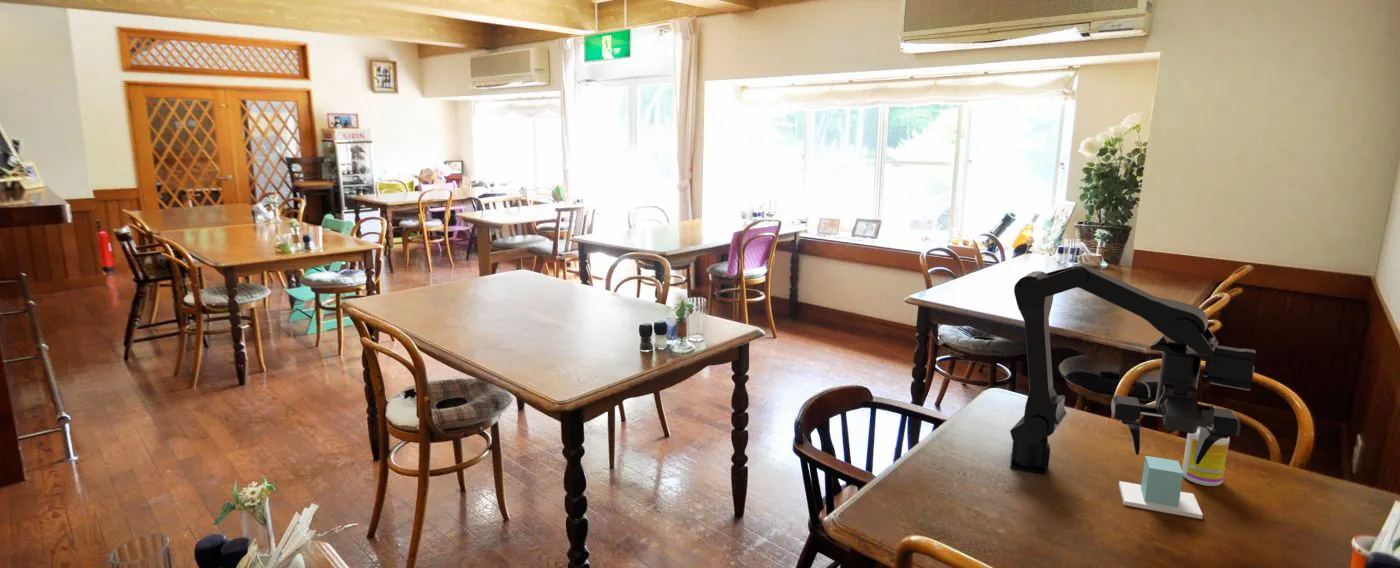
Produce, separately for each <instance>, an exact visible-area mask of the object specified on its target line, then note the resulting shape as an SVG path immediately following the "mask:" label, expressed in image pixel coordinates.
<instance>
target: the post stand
mask: <svg viewBox="0 0 1400 568" xmlns="http://www.w3.org/2000/svg"><path fill="white" fill-rule="evenodd" d="M1118 488H1119V492H1120V495H1121V501H1122V503H1123V505H1124V506H1128V507H1133V508H1139V509H1144V510H1150V511H1156V512H1161V513H1165V514H1172V515H1178V516H1183V517H1188V518H1193V519H1199V520H1203V517H1204V516H1203V512H1202V510H1201V508H1200V506H1199V503H1198V501H1197V498H1196V496H1195V494H1194V493H1191V492H1184V491H1181V493H1180V499H1179V505H1178V507H1174V506H1168V505H1163V504H1157V503H1152V502H1146V501H1144V498H1143V495H1142V491H1141V484H1139V483H1133V482H1127V481H1121V480H1119V481H1118Z"/></svg>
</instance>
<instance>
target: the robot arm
mask: <svg viewBox="0 0 1400 568" xmlns="http://www.w3.org/2000/svg"><path fill="white" fill-rule="evenodd" d="M1013 288H1014V289H1013V292H1014V298H1015V301H1016V304H1017V308H1018V310H1019V312H1020V315H1021V317H1022V318H1023V321H1024V331H1025V334H1024V335H1025V348H1026V360H1027V373H1028V376H1027V377H1028V387H1029V388H1028V395H1027V398H1026V401H1025V402H1026V403H1025V406H1024V416H1022V417H1021V418H1020V419H1019V420H1018V422H1017V423H1015V425H1014V426H1013V427H1012V428H1011V429H1010V436H1011V440H1012V445H1011V453H1010V461H1009V468H1011V469H1015V470H1020V471H1026V472H1031V473H1037V474H1046V472H1047V470H1046V469H1047V468H1049V464H1050V457H1051V456H1050V454H1051V444H1050V443H1049V439H1048V438H1049V437H1050V436H1051V435H1052V434H1054V432H1055V431H1056V430H1057V429H1058V428H1059V426H1060V424H1061V423H1062V422H1063V420H1064V418H1065V417H1066V415H1067V414H1068V413H1067V411H1066V409H1065V408H1066V407H1065V399H1066V396H1065V395H1064V394H1063V395H1062V394H1061V395H1058V394H1057V392H1056V389H1055V388H1054V379H1053V365H1052V352H1051V351H1052V350H1051V335H1050V334H1051V333H1050V320H1049V319H1050V314H1051V309H1052V306H1053V302H1054V296H1055V295H1058V294H1060V293H1063V292H1064V293H1065V292H1066V291H1069V290H1073V289H1076V288H1079V289H1080V290H1083V291H1085V292H1088V293H1089V294H1091V295H1094V296H1096V297H1098V298H1100V299H1102V300H1104V301H1107V302H1109V303H1110V304H1113V305H1115V306H1117V307H1119V308H1122V309H1124V310H1126V311H1128V312H1129V313H1132V314H1133V315H1136V316H1138V317H1140V318H1142V319H1144V321H1147V323H1149V324H1150V325H1151V326H1152V327H1153V328H1154V329H1156V330H1157V331H1158V332H1160V333H1161V334H1162V336H1161V337H1160V338H1159V339H1156V340H1155V341H1153V342H1152V343H1151V345H1150V347H1149V348H1150V350H1153V351H1157V352H1162V355H1161V362H1160V368H1159V369H1160V370H1159V376H1158V383H1157V390H1156V397H1155V403H1154V405H1147V404H1141V403H1140V401H1139V399H1138V397H1134V396H1128V395H1118V394H1117V395H1115V396H1113V397H1112V399H1111V403H1110V404H1111V405H1110V406H1111V407H1110V409H1111V412H1112V415H1113V418H1114V419H1116V420H1117V421H1120V423H1121V424H1122V425H1127V426H1128V429H1129V431H1130V435H1131V439H1132V443H1133V448H1134V453H1135V455H1136V456H1139V455H1140V450H1141V449H1140V448H1141V441H1140V440H1141V433H1140V431H1141V426H1142V425H1141V422H1140V419H1141V416H1145V417H1152V418H1158V419H1160V418H1161V419H1162V422H1163V428H1164V429H1166V430H1167V431H1170V432H1175V431H1176V432H1183V433H1187V434H1188V433H1190V434H1194V433H1196V432H1197V429H1198V427H1201V429H1200V434H1199V438H1198V443H1197V447H1196V452H1195V464H1199V463H1200V461H1201V460H1202V458H1203V457H1204V456H1205V454H1206V453H1207V451H1208V450H1209V448H1210V447H1211V446H1212V445H1213V444H1214V443H1215V442H1216V441H1217V440H1219V439H1221V438H1225V439H1227V438H1228V437H1229V438H1230V436H1234V437H1237V436H1240V431H1241V421H1240V420H1239V418H1238V417H1237V416H1236V414H1235V413H1234V412H1233V411H1232V410H1231V409H1228V408H1219V407H1214V406H1213V405H1206V404H1202V403H1199V402H1198V398H1197V397H1198V383H1199V377H1200V371H1201V365H1202V359H1205V364H1204V368H1203V377H1204V378H1205V377H1206V380H1207V381H1210V382H1209V383H1210V384H1212V385H1217V386H1222V387H1229V388H1235V389H1239V390H1244V391H1249V392H1250V391H1251V389H1252V384H1253V379H1254V373H1255V367H1256V366H1255V365H1254V363H1255V358H1256V352H1257V351H1256V349H1252V348H1251V349H1250V348H1237V347H1231V346H1225V345H1218V344H1219V341H1218V339H1216V336H1215V335H1214V334H1213V333H1212V331H1211V330H1210V328H1209V327H1208V325H1209V319H1208V315H1207V314H1206V312H1205V310H1203V309H1202V308H1200V307H1199V306H1197V305H1196V306H1195V305H1192V304H1189V303H1185V302H1182V301H1178V300H1174V299H1168V298H1163V297H1158V296H1155V295H1153V294H1150V293H1149V292H1146V291H1144V290H1143V289H1139V288H1138V287H1135V286H1134V285H1132V284H1128V283H1126V282H1124V281H1122V280H1121V279H1118V278H1115V277H1114V276H1111V275H1109V274H1107V273H1104V272H1102V271H1101V270H1100V271H1099V270H1097V269H1096V268H1093V267H1092V266H1091V265H1090V264H1087V263H1085V262H1083V263H1080V262H1079V263H1077V264H1075V265H1074V266H1069V267H1064V268H1061V269H1058V270H1053V271H1049V272H1044V271H1042V270H1041V271H1040V270H1036V271H1031V272H1030V273H1028V274H1026V275H1025V276H1023V277H1021V278H1020V279H1019V280H1018V281H1017V282H1015V284H1014V287H1013Z"/></svg>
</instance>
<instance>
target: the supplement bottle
mask: <svg viewBox="0 0 1400 568" xmlns="http://www.w3.org/2000/svg"><path fill="white" fill-rule="evenodd" d="M1200 429H1201V427H1198V429H1197V432H1196V433H1194V434H1190V433H1187V435H1186V440H1185V441H1186V442H1185V448H1184V455H1183V460H1182V461H1183V462H1182V465H1181V469H1182V471H1183V473H1184V474H1183V478H1184V479H1186V480H1188V481H1190V482H1191V483H1193V484H1197V485H1201V486H1207V487H1218V486H1220V485H1221V484H1222V483H1223V482H1224V476H1225V475H1224V474H1225V469H1226V465H1227V464H1226V463H1227V459H1228V450H1229V446H1230V441H1231V439H1230V436H1229V437H1228V438H1227V439H1225V438H1221V439H1219V440H1217V441H1216V442H1215V443H1214V444H1213V445H1212V446H1211V447H1210V448H1209V450H1208V451H1207V453H1206V454H1205V456H1204V457H1203V458H1202V460H1201V461H1200V463H1199V464H1195V452H1196V447H1197V443H1198V438H1199V434H1200Z"/></svg>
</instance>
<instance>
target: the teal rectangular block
mask: <svg viewBox="0 0 1400 568" xmlns="http://www.w3.org/2000/svg"><path fill="white" fill-rule="evenodd" d="M1183 474H1184V473H1183V471H1182V465H1180V461H1179V460H1174V459H1169V458H1163V457H1162V458H1161V457H1155V456H1149V455H1145V456H1144V463H1143V470H1142V476H1141V484H1140V485H1141V491H1142V495H1143V498H1144V501H1146V502H1152V503H1157V504H1163V505H1168V506H1174V507H1178V505H1179V499H1180V493H1181V492H1182V486H1183V485H1182V484H1183V479H1184V476H1183Z"/></svg>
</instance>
